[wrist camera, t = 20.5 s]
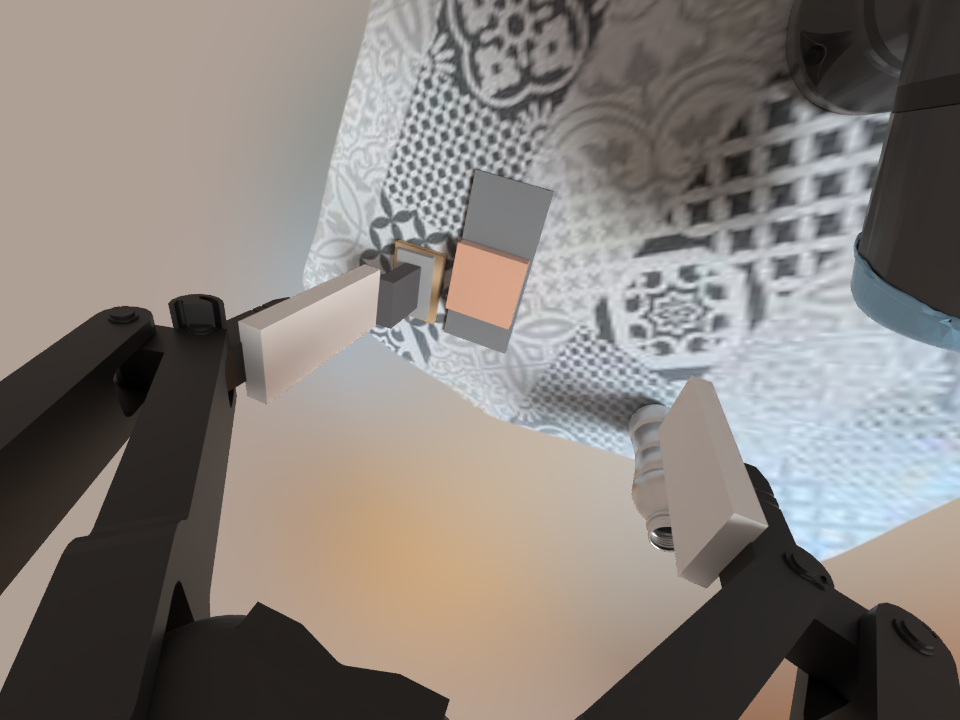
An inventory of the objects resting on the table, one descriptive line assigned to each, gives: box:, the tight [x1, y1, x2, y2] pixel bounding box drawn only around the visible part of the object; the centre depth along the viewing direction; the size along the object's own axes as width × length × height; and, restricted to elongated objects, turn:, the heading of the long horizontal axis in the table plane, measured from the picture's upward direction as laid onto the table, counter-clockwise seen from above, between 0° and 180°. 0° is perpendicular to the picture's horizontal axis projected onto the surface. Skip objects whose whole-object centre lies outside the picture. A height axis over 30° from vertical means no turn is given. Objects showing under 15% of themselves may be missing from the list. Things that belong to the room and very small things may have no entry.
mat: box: [444, 169, 554, 353], centre depth 51 cm, size 22×10×1 cm, turn 167°
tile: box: [446, 239, 530, 329], centre depth 51 cm, size 2×9×9 cm
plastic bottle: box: [629, 404, 675, 552], centre depth 46 cm, size 6×7×20 cm
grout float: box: [376, 247, 435, 329], centre depth 51 cm, size 9×5×8 cm, turn 169°
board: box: [393, 240, 447, 323], centre depth 55 cm, size 10×7×1 cm
